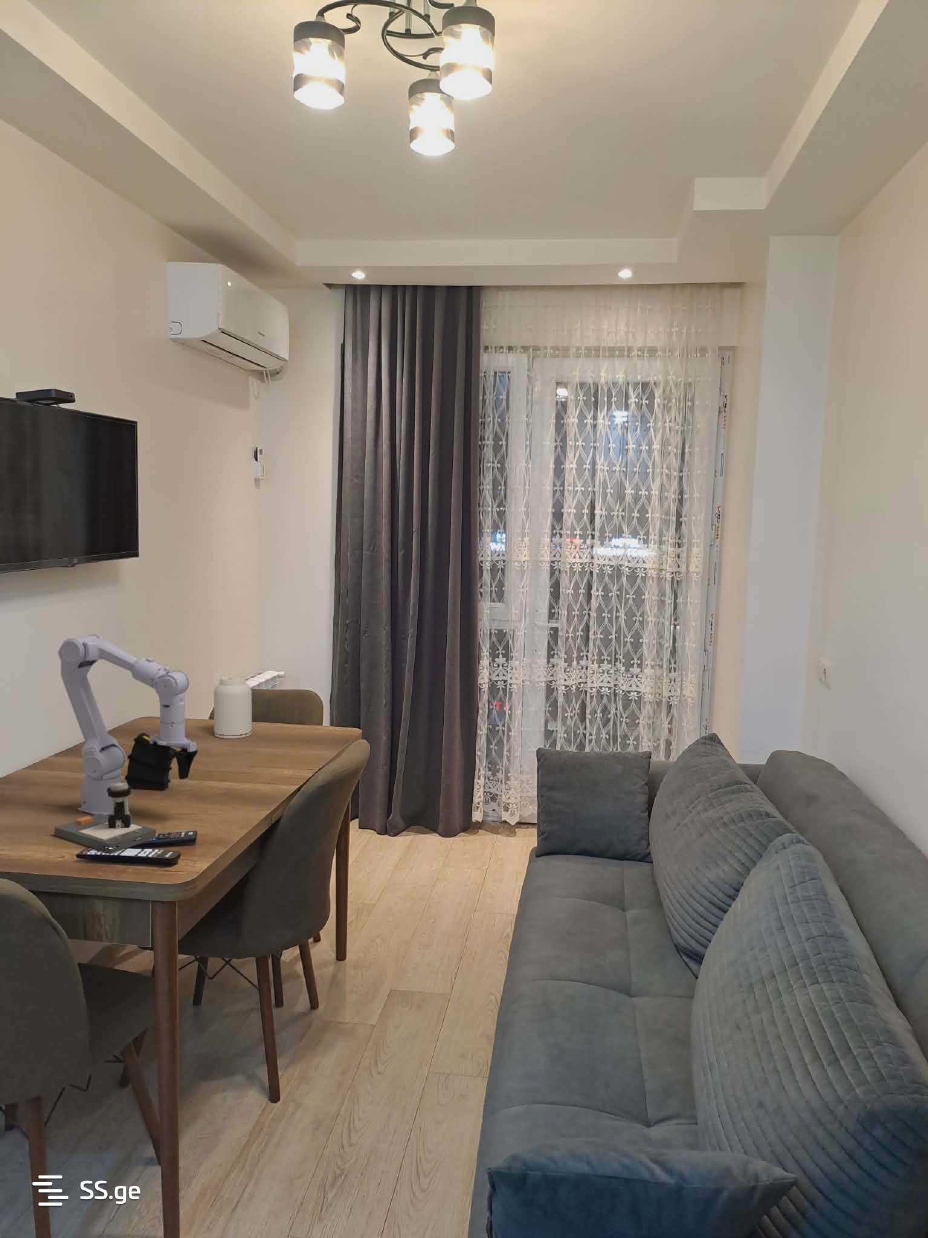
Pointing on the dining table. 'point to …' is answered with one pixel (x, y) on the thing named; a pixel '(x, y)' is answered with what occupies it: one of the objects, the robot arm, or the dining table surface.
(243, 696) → the white jar
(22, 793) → the dining table surface
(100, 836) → the control panel
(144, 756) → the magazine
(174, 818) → the dining table surface
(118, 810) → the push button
